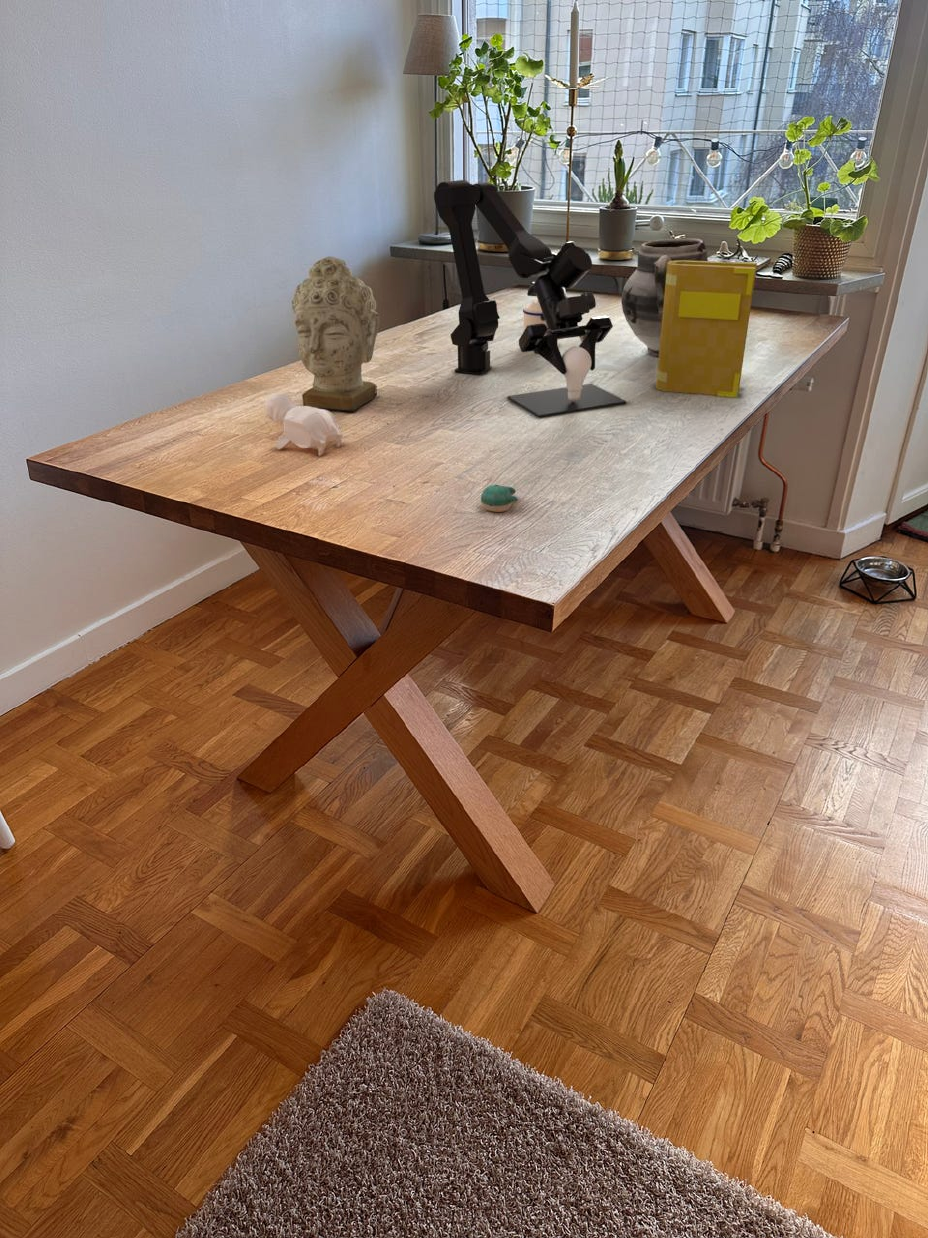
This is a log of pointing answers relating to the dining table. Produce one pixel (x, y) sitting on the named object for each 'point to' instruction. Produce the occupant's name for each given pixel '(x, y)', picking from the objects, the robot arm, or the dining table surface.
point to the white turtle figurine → (302, 424)
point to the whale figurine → (498, 498)
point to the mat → (565, 401)
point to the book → (704, 326)
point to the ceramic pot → (655, 285)
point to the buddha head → (335, 335)
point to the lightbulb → (576, 370)
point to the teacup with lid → (533, 315)
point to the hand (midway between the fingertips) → (579, 371)
